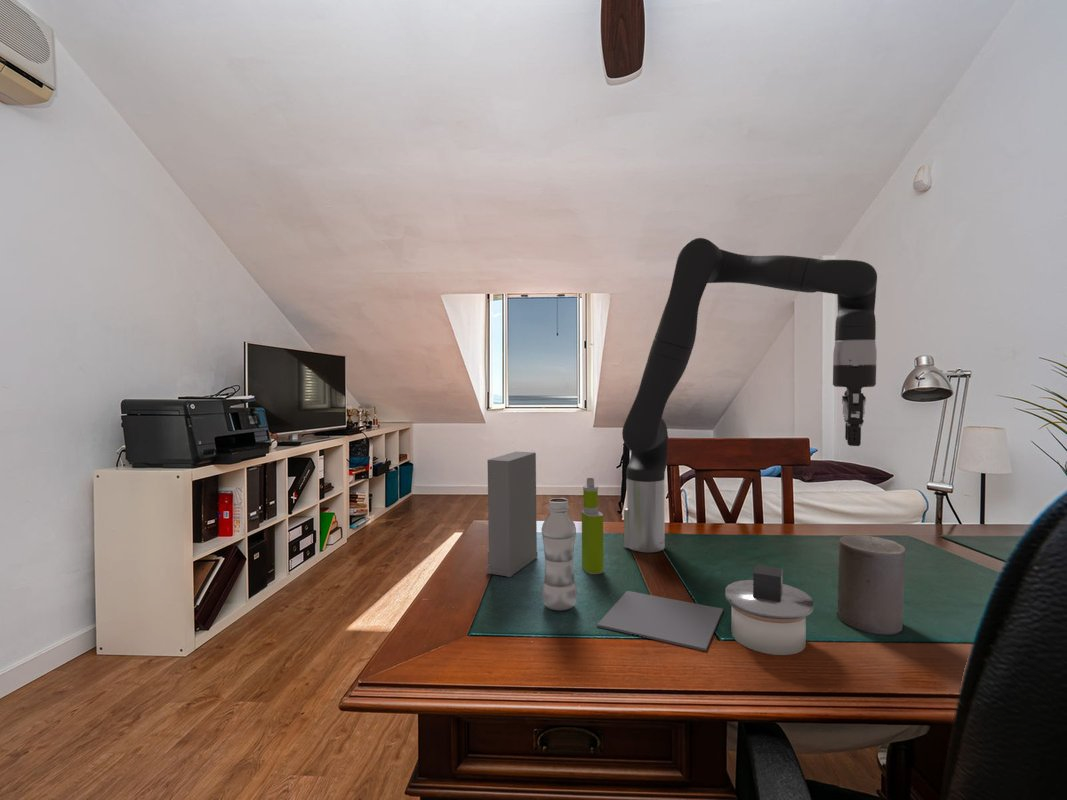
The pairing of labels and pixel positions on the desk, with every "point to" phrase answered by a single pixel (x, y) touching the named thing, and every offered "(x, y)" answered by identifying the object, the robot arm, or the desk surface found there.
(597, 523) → the vape
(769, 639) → the dish
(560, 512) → the plastic bottle
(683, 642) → the mat
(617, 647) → the desk surface
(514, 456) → the upright grey slab box
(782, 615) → the lid
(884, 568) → the pillar candle
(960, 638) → the desk surface
